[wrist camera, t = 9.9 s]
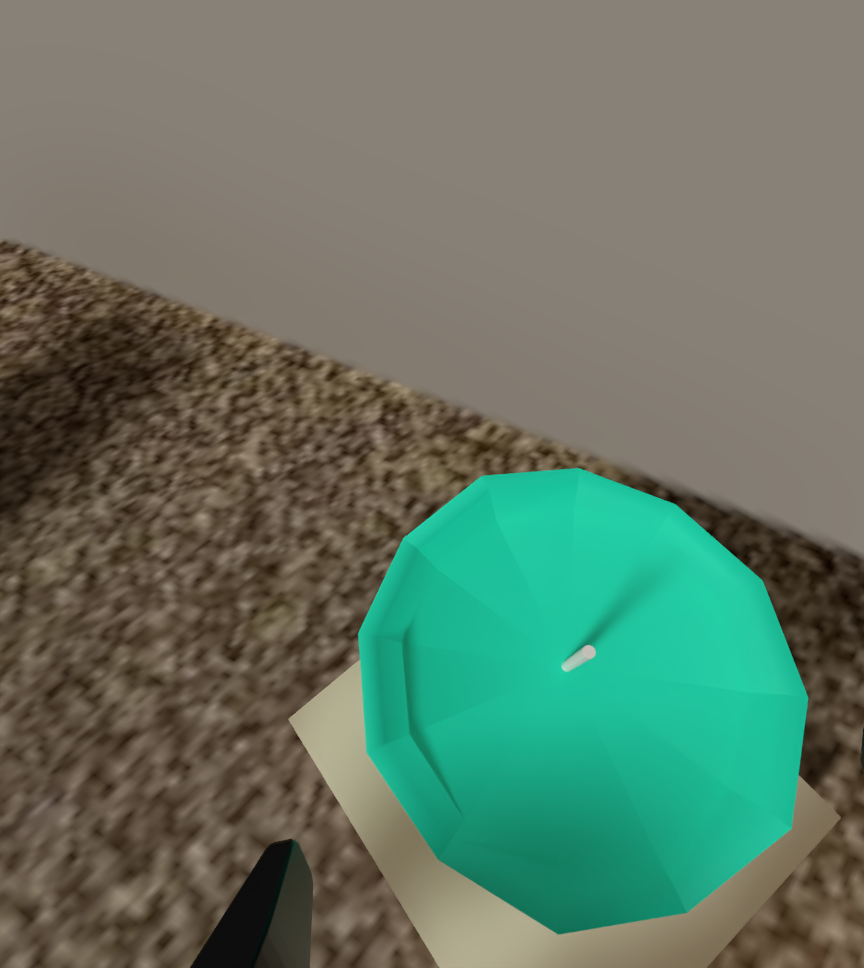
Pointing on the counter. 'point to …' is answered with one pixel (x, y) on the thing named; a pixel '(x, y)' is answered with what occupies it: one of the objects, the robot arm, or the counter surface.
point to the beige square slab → (491, 921)
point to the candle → (581, 699)
